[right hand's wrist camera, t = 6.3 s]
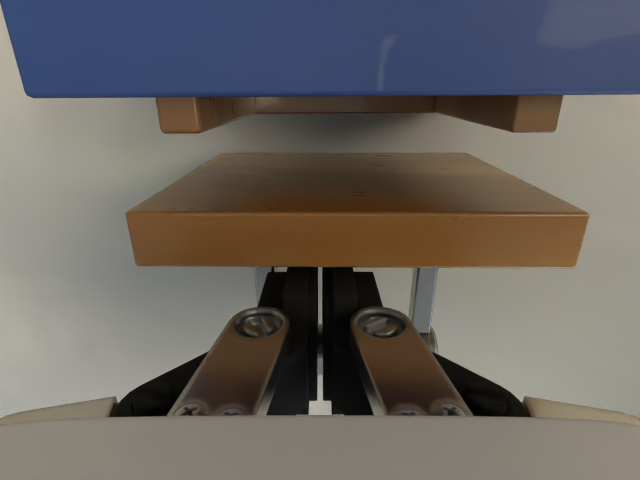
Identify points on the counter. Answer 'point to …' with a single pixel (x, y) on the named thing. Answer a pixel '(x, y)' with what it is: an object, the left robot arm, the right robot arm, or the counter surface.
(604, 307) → the counter surface
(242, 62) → the cabinet
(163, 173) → the counter surface
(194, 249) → the drawer
